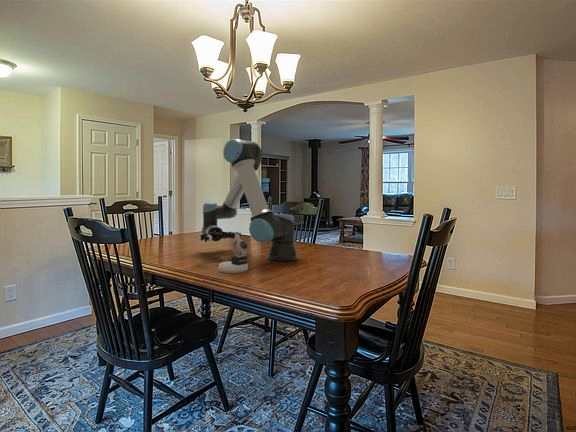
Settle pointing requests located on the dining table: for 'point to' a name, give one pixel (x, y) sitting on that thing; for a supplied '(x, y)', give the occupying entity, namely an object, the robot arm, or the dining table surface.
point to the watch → (243, 247)
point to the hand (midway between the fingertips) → (225, 238)
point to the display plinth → (232, 267)
